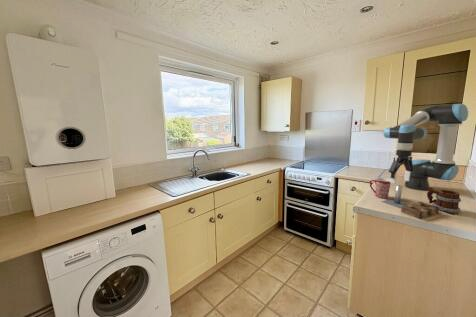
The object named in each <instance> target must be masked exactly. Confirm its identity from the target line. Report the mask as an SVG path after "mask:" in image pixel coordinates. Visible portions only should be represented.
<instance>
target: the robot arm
mask: <svg viewBox="0 0 476 317" xmlns="http://www.w3.org/2000/svg"><path fill="white" fill-rule="evenodd" d="M468 117H469V110H468V107H467V105H466V104H464V103H452V104H437V105H435V104H434V105H431V106H428V107H425V108H422V109H421V110H419V111H416V112H415V113H414V115H412V116H411V117H409V118H407V119H406V120H404V121H402V122H400V123H399V124H397V125H395V126H393V127H392V126H391V127H390V126H389V127H385V129H384V131H383V132H382V133H383V137H384V138H386V139H396V140H397V144H396V145H397V146H396V150H395V151H396V153H395V155H396V156H397V157H393V161H392V162H391V165H390V168H389V170H388V173H390V183H391V184H395V185H396V181H397V172H398V171H399V169H400V167H401V166H404V169H405V171H404V177H403V181H405V183H404V187H405V188H408V189H412V190H417V191H429V189H428V187H431V185H430V183H429V178H431V179H437V180H442V181H447V182H449V181H452V180H454V179H455V178H456V177H457V175H458V173H459V170H460V168H459V166H458V165H456V162H455V161H454V160H453V159H454V154H455V148H456V141H457V135H458V130H459V126H461V125H462V124H463V122H465V121H467V120H468ZM428 122H429V123H430V122H437V125H438V126H439V127H440V128H439V135H438V139H437V140H438V141H437V148H436V156H435V159H433V160H431V159H426V158H424V159H413V156H412V152H413V149H414V148H413V147H414V141H416V140H417V141H419V140H423V139H425V138H426V137H427V135H428V132H427V130H426V129H425V128H423V127H417V126H420V125H421V124H426V123H428Z"/></svg>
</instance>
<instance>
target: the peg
mask: <svg viewBox="0 0 476 317" xmlns="http://www.w3.org/2000/svg"><path fill="white" fill-rule="evenodd" d="M402 191H403V185H401V184H400V185H399V184H397V185H396V187H395V196H394V198H395V201H394V203H396V204H400V200H401V201H402V199H401V198H402V193H403V192H402Z"/></svg>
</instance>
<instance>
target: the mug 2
mask: <svg viewBox="0 0 476 317" xmlns="http://www.w3.org/2000/svg"><path fill="white" fill-rule="evenodd" d="M428 189H429V190H427V193H426V194H427V195H426V197H427V199H428V204H430V205H433V206H436V207H439V212H441V213H446V214H448V215H449V214H450V215H451V214H452V215H458V214H459V212H461V208H460V207H459V204H460V202H462V199H461V197H460V195H461V194H460V193H459V192H457V191H453V190H449V189H438V190H435V189H434V188H433V187H432V186H430V187H428ZM434 194H435V196H434V197H435V198H436V199H434V197H433V195H434Z"/></svg>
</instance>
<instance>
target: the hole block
mask: <svg viewBox="0 0 476 317" xmlns="http://www.w3.org/2000/svg"><path fill="white" fill-rule="evenodd" d="M439 212H440V211H439V207H436V206H433V205H432V204H430V203H426V202H423V201H418V202H414V203H410V204H409V205H405V206H402V208H400V213H402V214H405V215H407V216H410V217H413V218H415V219H418V220H420V219H423V218H427V217H430V216H434V215H437V214H439Z"/></svg>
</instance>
